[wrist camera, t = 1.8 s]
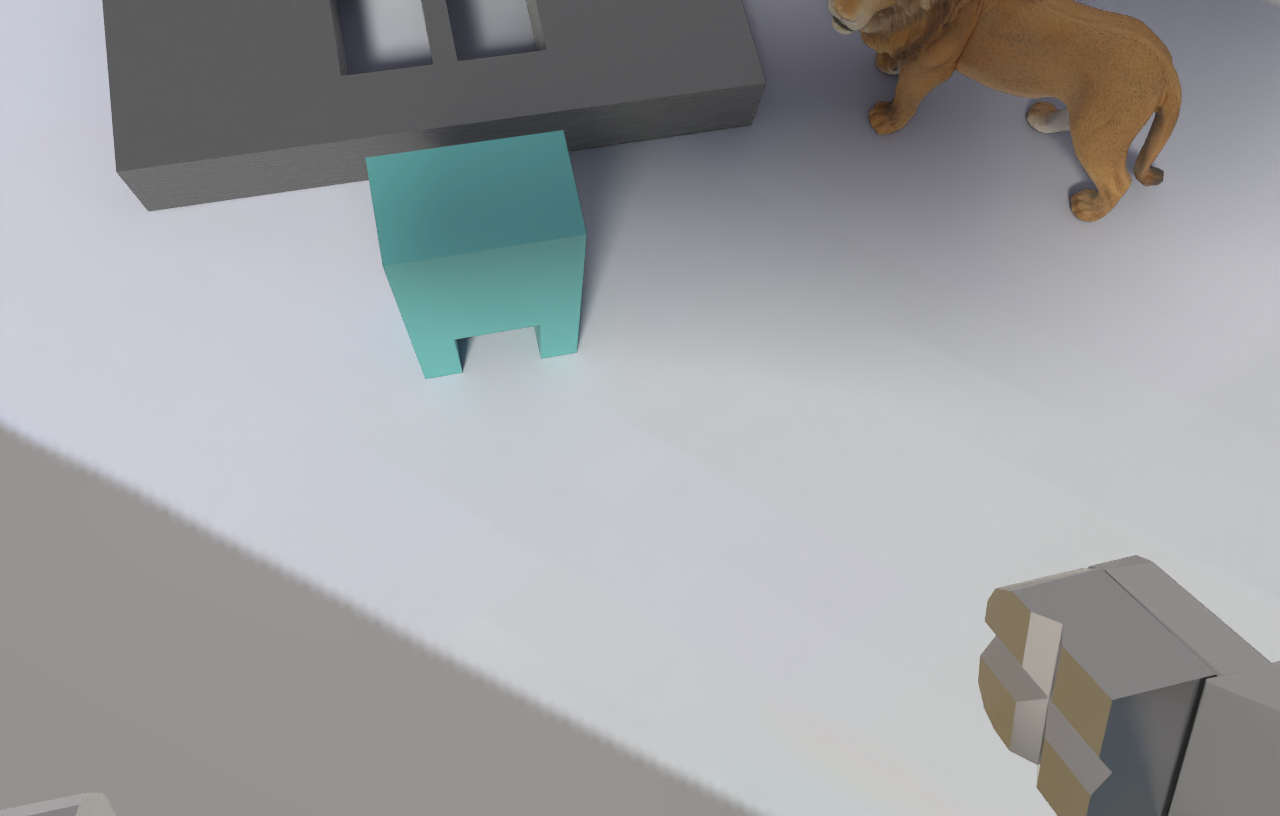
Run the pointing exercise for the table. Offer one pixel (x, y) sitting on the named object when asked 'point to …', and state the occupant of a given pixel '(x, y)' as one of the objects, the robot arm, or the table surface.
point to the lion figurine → (1033, 74)
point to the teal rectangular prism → (481, 243)
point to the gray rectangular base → (400, 89)
